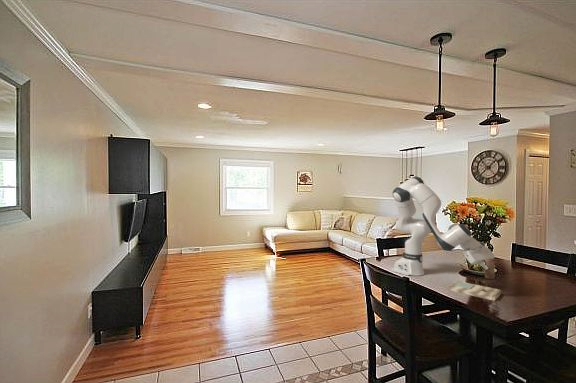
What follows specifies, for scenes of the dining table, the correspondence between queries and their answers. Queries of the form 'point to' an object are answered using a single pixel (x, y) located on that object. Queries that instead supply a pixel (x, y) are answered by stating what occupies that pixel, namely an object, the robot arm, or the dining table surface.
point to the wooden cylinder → (489, 272)
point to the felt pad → (464, 285)
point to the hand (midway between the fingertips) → (490, 268)
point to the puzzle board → (477, 291)
